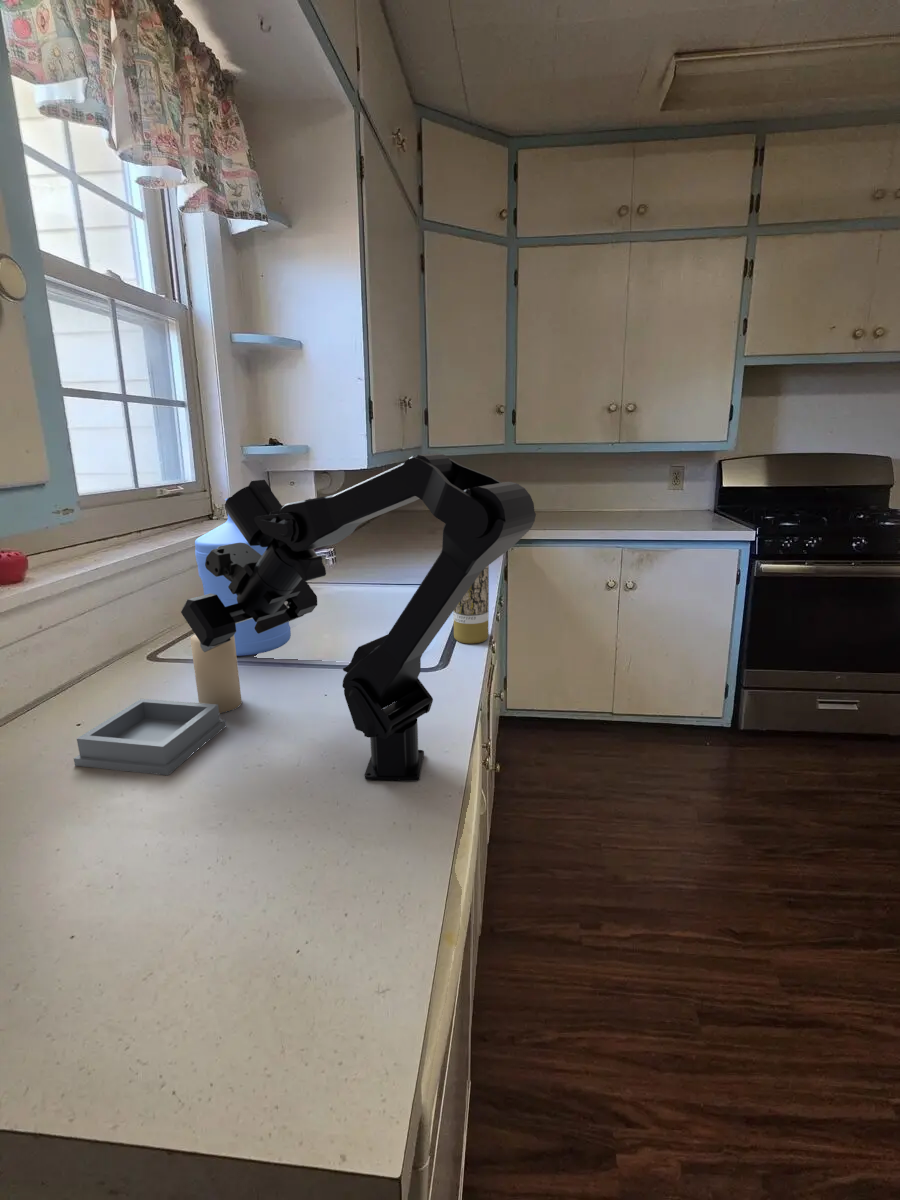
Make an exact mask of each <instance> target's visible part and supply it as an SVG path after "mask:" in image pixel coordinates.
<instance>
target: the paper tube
mask: <svg viewBox="0 0 900 1200" xmlns="http://www.w3.org/2000/svg"><path fill="white" fill-rule="evenodd" d="M489 565H490V564H489ZM489 565H488V566H487V567H486V568H484V569H483V570H482V571H481V573H480V574H479V576H478V577H477V578H476V580H475V581H474V583H473V584H472V585H471V587H470V588H469V590H468V591H467V592H466V594H465V595H464V597H463V598H462V599H461V601H460V602H459V604H458V605H457V606H456V608H455V609H454V611H453V612H452V614H453V618H452V619H453V638H454V640H456V641H457V642H459V643H462V644H468V645H469V644H472V645H473V644H480V643H483V642H486V641H487V639H488V638H489V618H490V617H489V615H490V614H489V613H490V611H489V608H490V607H489V606H490V605H489V602H490V599H489V598H490V597H489V595H490V593H489V589H490V588H489V585H490V584H489V583H490V582H489V581H490V580H489V579H490V577H489V574H490V569H489V568H490V567H489Z"/></svg>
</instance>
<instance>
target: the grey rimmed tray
mask: <svg viewBox="0 0 900 1200" xmlns="http://www.w3.org/2000/svg"><path fill="white" fill-rule="evenodd" d="M225 726H226V727H227V723H226V719H222V718H221V717H220V714H219V708H218V704H205V703H199V702H189V701H179V700H164V699H151V698H150V699H149V698H140V699H138V700H136V701H135V702H133V703H132V704H129V706H127V707H125V708H124V709H122V710H121V711H119V712H117V713H115V714H114V715H113V716H111V717H109V718H108V719H106V720H104V721H103V722H101V723H99V724H98V725H96V726H94V727H93V728H92V729H90V730H88V731H86V732H85V733H84V734H82V735H80V736H78V737H77V738H76V742H77V747H78V753H79V754H78V755H77V756H75V757H74V758H73V763H74V766H75V767H82V768H83V767H84V768H94V769H101V770H102V769H105V770H113V771H125V772H133V773H141V774H143V773H144V774H151V775H152V774H153V775H162V776H170V774H172V773H173V772H174V771H176V769H177V768H179V767H180V766H181V765H182V764H183V763H184V761H185V760H186V759H187V758H188V757H189V756H190V755H191V754H192V753H193V752H195V751H196V750H197V749H198V748H200V747H201V746H202V745H203V744H204V743H205V742H207V741H208V740H209V739H210V740H212V739H213V738H214V737H215V736H216V735H218V734H217V733H218V732H219V731H220V730H221V729H222V730H224V729H225V728H226V727H225ZM224 727H225V728H224ZM222 730H221V731H222ZM221 731H220V732H221ZM220 732H219V733H220ZM214 735H215V736H214ZM213 736H214V737H213ZM212 737H213V738H212ZM211 738H212V739H211ZM210 740H209V741H210ZM209 741H208V742H209ZM208 742H207V743H208ZM203 746H204V745H203ZM203 746H202V747H203ZM202 747H201V748H202ZM201 748H200V749H201ZM196 752H197V751H196ZM196 752H195V753H196ZM190 757H191V756H190ZM190 757H189V758H190ZM189 758H188V759H189ZM188 759H187V760H188ZM187 760H186V761H187ZM186 761H185V762H186ZM178 766H179V767H178Z"/></svg>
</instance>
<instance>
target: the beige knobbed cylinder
mask: <svg viewBox="0 0 900 1200" xmlns="http://www.w3.org/2000/svg"><path fill="white" fill-rule="evenodd" d="M230 639H231V640H230V641H228V642H226V643H224V644H222V645H220V646H218V647H216V648H213V649H211V650H209V651H207V652H204V651H203V650H202V648H201V647H200V641H199V639H198V638H197V636H196V635H195V634H194V635H192V636H191V637H190V646H191V653H192V660H193V661H192V662H193V669H194V677H195V683H196V692H197V697H198V703H205V704H218V708H219V713H220V714H223V713H222V712H225V713H227V712H226V711H229V712H231V711H230V710H232V711H234V710H236V709H238V708H239V707H240V706H241V705H242V703H243V701H242V692H241V685H240V683H241V682H240V674H239V666H238V658H237V656H236V647H235V638H234V635H233V636H232V637H231V638H230ZM241 702H242V703H241ZM240 704H241V705H240ZM239 705H240V706H239ZM238 706H239V707H238ZM237 707H238V708H237ZM235 708H236V709H235ZM233 709H234V710H233Z"/></svg>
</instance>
